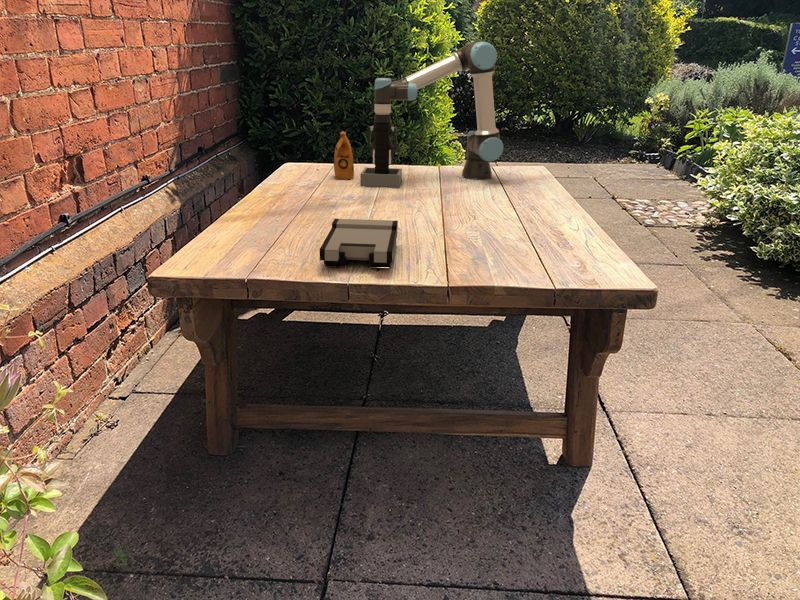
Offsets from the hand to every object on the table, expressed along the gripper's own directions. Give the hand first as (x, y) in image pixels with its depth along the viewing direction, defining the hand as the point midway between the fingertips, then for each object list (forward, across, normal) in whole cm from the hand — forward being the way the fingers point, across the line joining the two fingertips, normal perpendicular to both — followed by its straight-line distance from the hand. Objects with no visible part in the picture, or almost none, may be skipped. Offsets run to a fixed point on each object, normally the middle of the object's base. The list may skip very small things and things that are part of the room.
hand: (382, 163), depth 318 cm
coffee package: (+10, +20, -12) cm, 25 cm away
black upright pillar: (+7, 0, 0) cm, 7 cm away
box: (+9, 0, 0) cm, 9 cm away
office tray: (+10, -6, +120) cm, 120 cm away
